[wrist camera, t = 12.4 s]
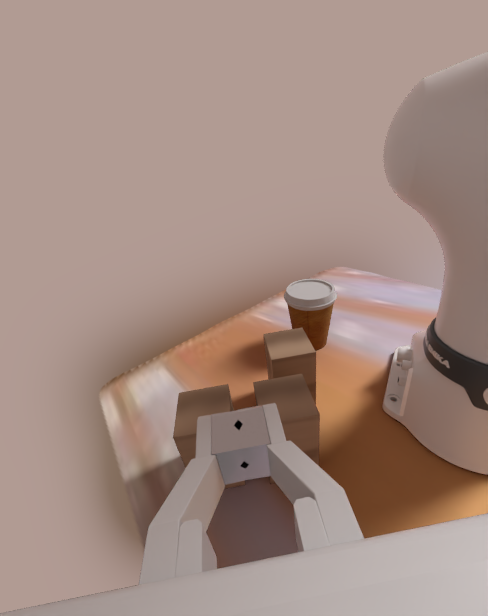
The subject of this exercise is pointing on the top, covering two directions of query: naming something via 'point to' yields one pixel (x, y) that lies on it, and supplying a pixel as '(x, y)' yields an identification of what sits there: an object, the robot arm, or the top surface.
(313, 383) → the walnut block numbered 2
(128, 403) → the top surface
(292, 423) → the walnut block numbered 1
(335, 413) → the top surface
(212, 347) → the top surface
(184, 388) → the top surface
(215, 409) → the plain walnut block
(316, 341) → the disposable coffee cup
